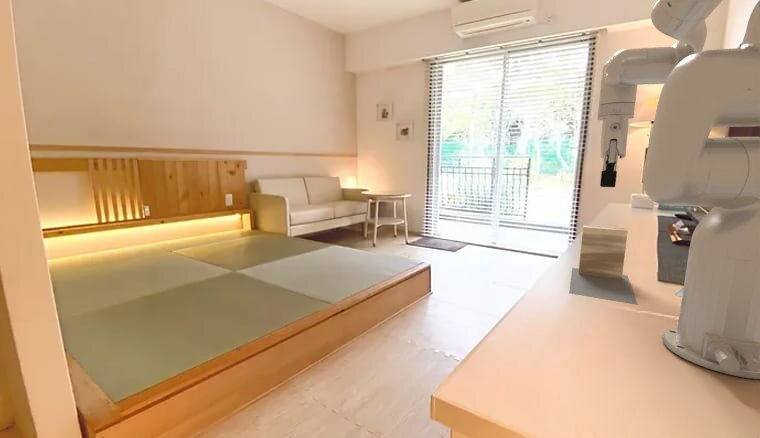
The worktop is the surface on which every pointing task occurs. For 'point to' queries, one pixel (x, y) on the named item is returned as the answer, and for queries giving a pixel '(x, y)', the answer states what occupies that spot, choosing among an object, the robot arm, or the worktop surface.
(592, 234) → the wooden block
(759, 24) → the robot arm
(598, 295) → the mat
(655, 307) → the worktop surface
